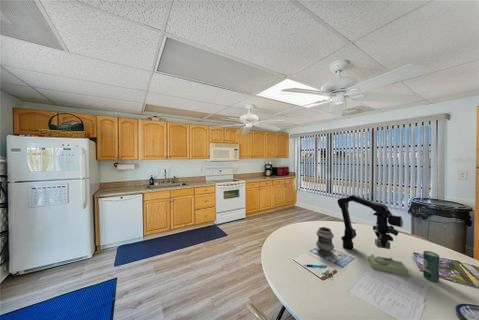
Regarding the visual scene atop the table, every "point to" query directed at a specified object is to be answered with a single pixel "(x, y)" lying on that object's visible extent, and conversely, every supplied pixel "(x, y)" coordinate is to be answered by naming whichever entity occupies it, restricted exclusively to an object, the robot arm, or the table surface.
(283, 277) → the table surface
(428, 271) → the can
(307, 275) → the table surface
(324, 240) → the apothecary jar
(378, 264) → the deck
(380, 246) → the grey stepped block
